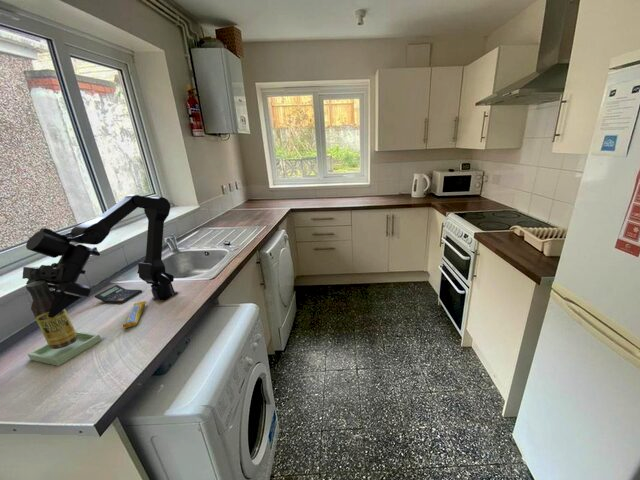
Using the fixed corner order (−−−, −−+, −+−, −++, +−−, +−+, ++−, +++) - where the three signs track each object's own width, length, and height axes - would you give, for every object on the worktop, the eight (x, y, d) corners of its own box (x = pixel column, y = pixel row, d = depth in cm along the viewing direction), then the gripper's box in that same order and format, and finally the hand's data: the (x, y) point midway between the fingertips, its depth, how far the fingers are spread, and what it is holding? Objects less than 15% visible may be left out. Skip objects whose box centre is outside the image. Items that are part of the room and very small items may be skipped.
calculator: (122, 303, 111) (119, 296, 110) (96, 302, 113) (93, 295, 111) (142, 291, 119) (139, 285, 118) (118, 290, 121) (115, 284, 120)
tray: (75, 335, 92) (73, 330, 92) (101, 339, 89) (99, 334, 89) (30, 359, 82) (27, 354, 81) (58, 366, 79) (55, 360, 78)
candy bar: (137, 327, 95) (135, 322, 94) (122, 330, 93) (120, 325, 93) (147, 303, 109) (146, 299, 109) (134, 306, 108) (133, 302, 107)
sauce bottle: (52, 353, 81) (16, 291, 73) (49, 345, 85) (14, 285, 77) (82, 341, 86) (51, 282, 78) (78, 333, 89) (48, 276, 81)
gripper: (18, 250, 81) (-16, 304, 76) (59, 255, 75) (25, 314, 70) (64, 265, 91) (37, 313, 86) (103, 270, 85) (76, 322, 80)
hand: (43, 315), depth 80 cm, fingers closed on sauce bottle, 6 cm apart
